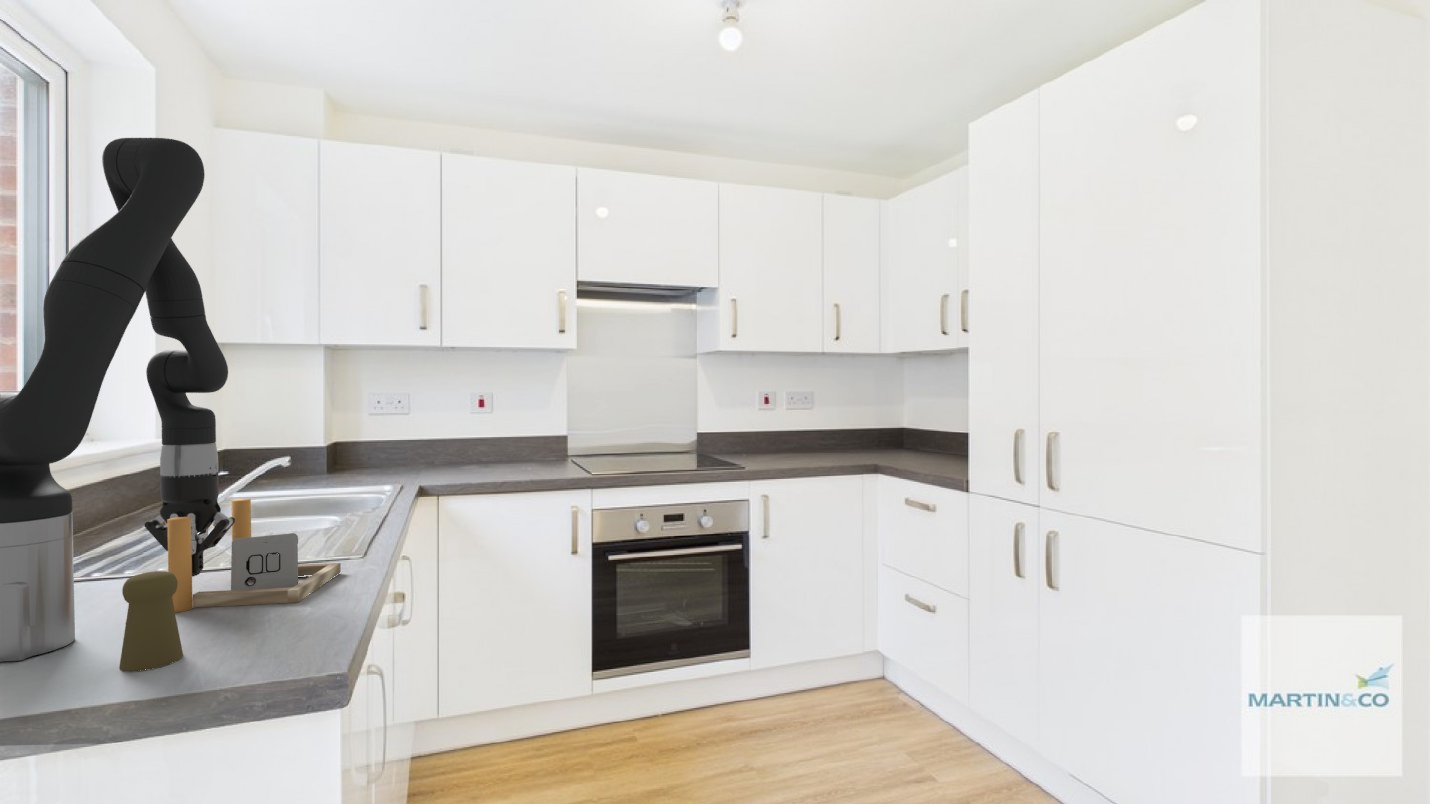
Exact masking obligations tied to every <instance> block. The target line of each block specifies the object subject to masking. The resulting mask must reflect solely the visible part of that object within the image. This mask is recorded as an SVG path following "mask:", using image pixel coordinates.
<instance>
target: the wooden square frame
mask: <svg viewBox="0 0 1430 804" xmlns="http://www.w3.org/2000/svg"><path fill="white" fill-rule="evenodd" d="M341 564H342V563H341V562H332V563H331V562H327V563H302V564H298V576H304V575H312V576H310V577H306V578H305V579H304V580H302V581H300V582H298V584H297V585H296V586H294V587H292V588H271V589H249V590H231V589H230V590H207V591H198V592H195V593H192V603H193V608H210V607H211V608H212V607H233V606H235V607H236V606H250V605H251V606H252V605H254V606H255V605H273V604H293V603H294V604H295V603H297V604H298V603H300V602H301V601H302V599H303V600H304V599H306V598H307V597H308V596H309V595H308V594H309V593H311V594H313V593H315V592H316V591H317V590H319V589H320V588H321V587H320V586H322V585H323V584H324V583H326V582H327V581H329V580H330V579H331V578H333V577H334V576H336V575H337V574H339V573H340V572H341V569H342V568H341ZM341 573H342V572H341ZM329 582H330V581H329ZM326 584H327V583H326ZM323 586H324V585H323ZM323 586H322V587H323ZM319 587H320V588H319ZM318 588H319V589H318ZM316 589H317V590H316ZM315 590H316V591H315ZM312 592H313V593H312ZM307 595H308V596H307ZM306 596H307V597H306ZM299 601H300V602H299Z"/></svg>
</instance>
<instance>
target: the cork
mask: <svg viewBox="0 0 1430 804" xmlns="http://www.w3.org/2000/svg"><path fill="white" fill-rule="evenodd" d="M177 586H178V581H177V578H176V577H175V575H174V574H173V573H171V572H168V571H166V570H164V571H163V570H162V571H161V570H157V571H147V572H143V573H139V574H135V575H133V576H131V577H129V578H127V579H126V580H125V582H124V583H123V586H122V589H121V592H122V596H123V599H124V601H125V602H126V603H127V604H128V607H127V613H126V619H125V626H124V633H123V641H122V648H121V654H120V660H119V661H120V662H119V666H118V667H119V670H120V671H121V670H122V671H121V672H124V671H131V672H130V673H133V672H132V671H137V672H143V671H142V670H145V669H146V670H145V671H148V670H147V669H151V670H153V669H152V668H155V669H158V668H157V667H160V668H162V667H161V666H163V667H165V666H164V665H166V666H168V665H167V664H169V665H171V664H170V663H172V662H174V663H176V662H178V661H179V660H181V659H182V658H183V657H184V653H183V646H182V643H181V642H182V641H181V637H180V632H179V631H180V630H179V627H178V621H177V617H176V616H177V615H176V613H175V610H174V605H173V599H172V596H173V595H174V593H175V592H176V590H177ZM182 656H183V657H182ZM181 657H182V658H181ZM180 658H181V659H180ZM177 660H178V661H177ZM175 661H176V662H175ZM172 664H173V663H172ZM140 670H141V671H140Z"/></svg>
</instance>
